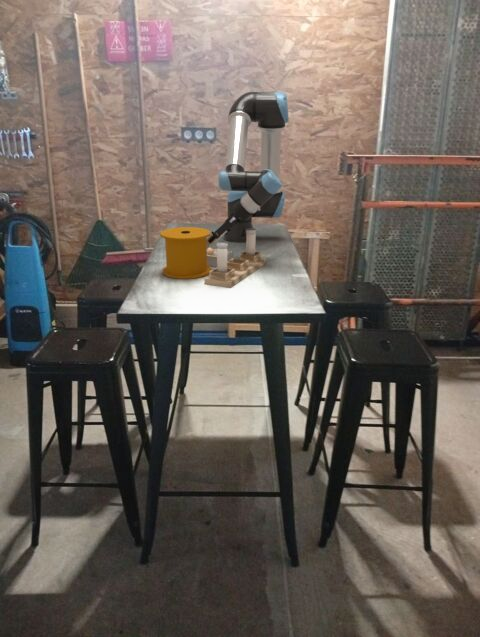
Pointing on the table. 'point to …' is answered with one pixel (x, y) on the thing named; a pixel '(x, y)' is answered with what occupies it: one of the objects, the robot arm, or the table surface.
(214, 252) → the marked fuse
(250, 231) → the fuse
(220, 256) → the fuse
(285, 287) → the table surface
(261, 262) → the fuse block
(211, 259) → the tray
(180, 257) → the spool
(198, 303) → the table surface
